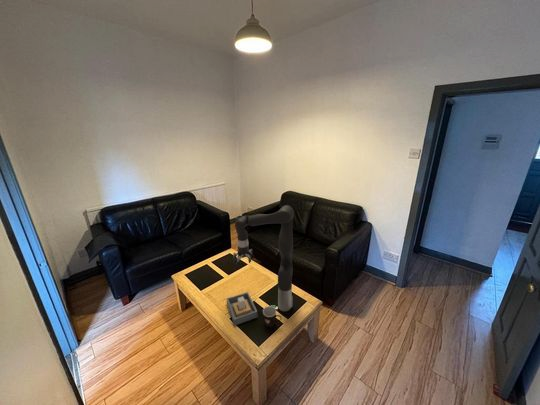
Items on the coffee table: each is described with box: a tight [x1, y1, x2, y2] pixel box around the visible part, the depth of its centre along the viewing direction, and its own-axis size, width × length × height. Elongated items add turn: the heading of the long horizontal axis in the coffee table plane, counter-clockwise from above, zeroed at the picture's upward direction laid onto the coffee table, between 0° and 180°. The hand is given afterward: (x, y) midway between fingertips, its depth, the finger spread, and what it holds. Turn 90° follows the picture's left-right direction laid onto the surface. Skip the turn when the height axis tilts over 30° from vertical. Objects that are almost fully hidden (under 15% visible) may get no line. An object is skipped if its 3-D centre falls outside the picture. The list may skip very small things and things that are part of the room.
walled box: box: [226, 291, 259, 326], centre depth 152 cm, size 16×20×5 cm
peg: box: [238, 296, 245, 311], centre depth 151 cm, size 4×4×9 cm
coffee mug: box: [262, 305, 282, 328], centre depth 140 cm, size 12×9×10 cm
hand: (243, 264), depth 157 cm, fingers open, 8 cm apart
